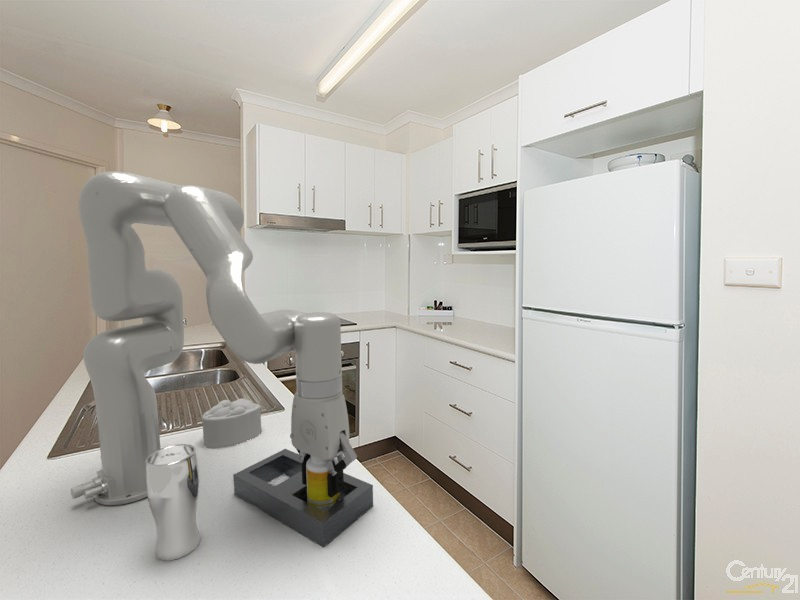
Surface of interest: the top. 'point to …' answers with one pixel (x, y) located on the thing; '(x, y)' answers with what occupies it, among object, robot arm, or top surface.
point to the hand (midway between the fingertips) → (322, 485)
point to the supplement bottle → (319, 484)
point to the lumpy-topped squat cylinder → (231, 423)
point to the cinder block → (301, 498)
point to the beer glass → (174, 499)
